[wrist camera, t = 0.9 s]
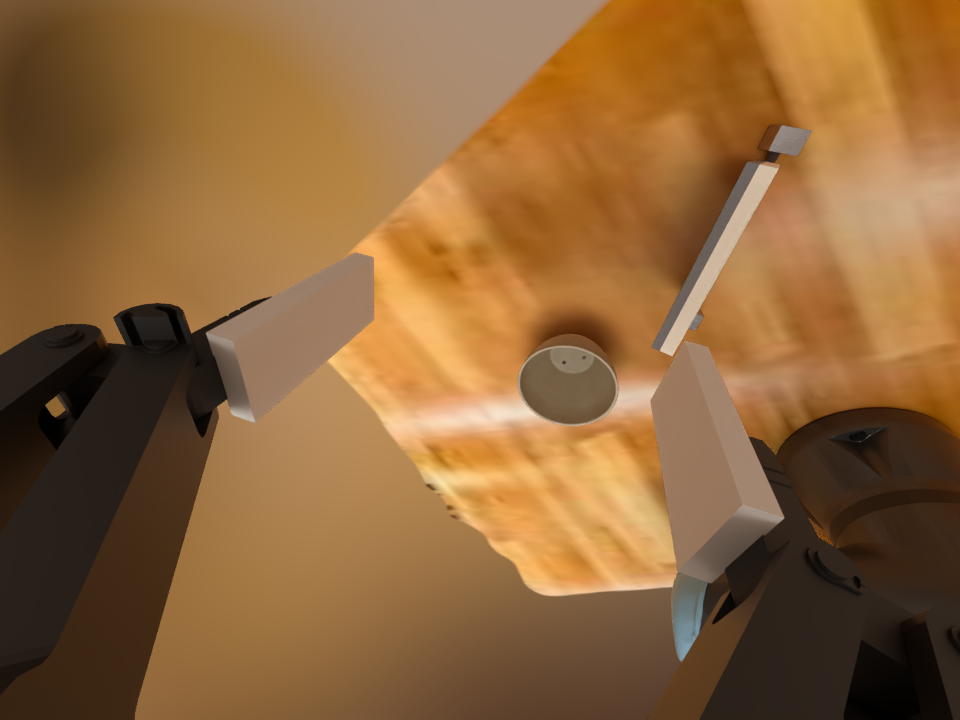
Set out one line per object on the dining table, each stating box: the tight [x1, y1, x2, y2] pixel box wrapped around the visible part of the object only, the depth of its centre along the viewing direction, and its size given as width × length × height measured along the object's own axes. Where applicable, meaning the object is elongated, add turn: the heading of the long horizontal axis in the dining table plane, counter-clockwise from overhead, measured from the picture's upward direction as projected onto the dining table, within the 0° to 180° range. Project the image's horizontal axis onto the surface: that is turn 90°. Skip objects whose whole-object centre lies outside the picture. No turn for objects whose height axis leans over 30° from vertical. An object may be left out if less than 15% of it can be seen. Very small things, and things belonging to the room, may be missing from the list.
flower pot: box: [518, 334, 619, 426], centre depth 41 cm, size 10×10×7 cm
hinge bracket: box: [688, 125, 812, 330], centre depth 32 cm, size 2×17×2 cm, turn 170°
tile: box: [652, 160, 780, 356], centre depth 27 cm, size 12×12×2 cm
